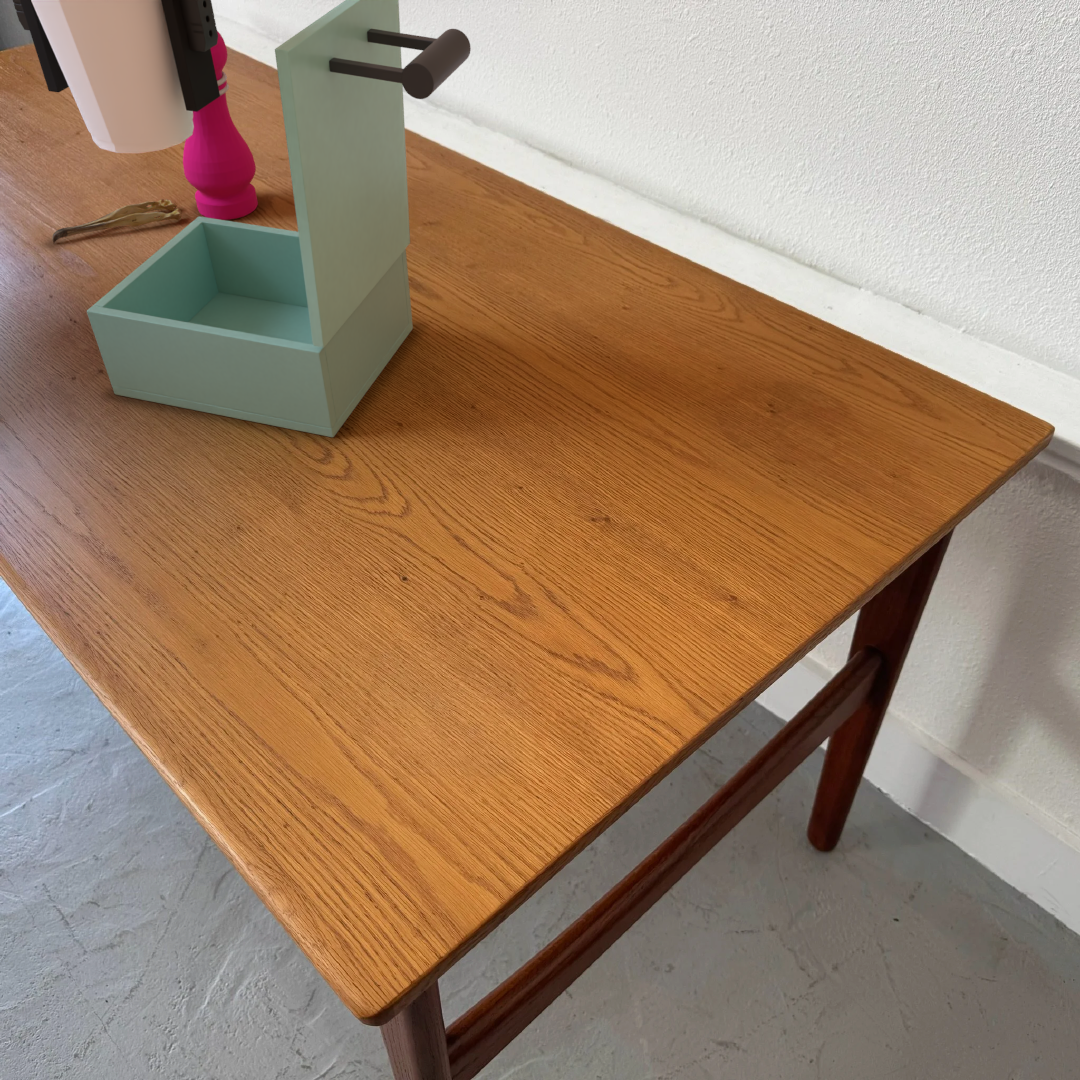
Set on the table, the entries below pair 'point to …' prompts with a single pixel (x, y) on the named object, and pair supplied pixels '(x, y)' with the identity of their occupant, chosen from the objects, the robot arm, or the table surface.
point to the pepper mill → (219, 155)
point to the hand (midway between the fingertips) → (134, 93)
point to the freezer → (244, 330)
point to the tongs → (124, 218)
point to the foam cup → (119, 71)
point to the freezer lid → (353, 146)
